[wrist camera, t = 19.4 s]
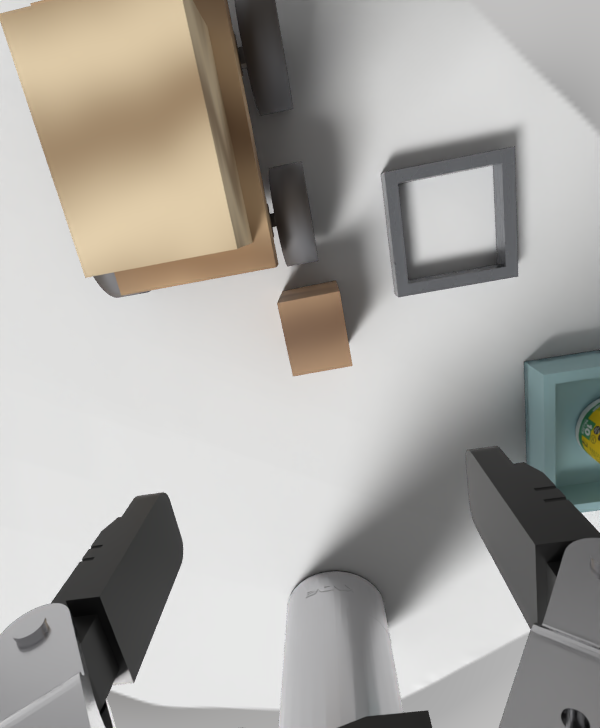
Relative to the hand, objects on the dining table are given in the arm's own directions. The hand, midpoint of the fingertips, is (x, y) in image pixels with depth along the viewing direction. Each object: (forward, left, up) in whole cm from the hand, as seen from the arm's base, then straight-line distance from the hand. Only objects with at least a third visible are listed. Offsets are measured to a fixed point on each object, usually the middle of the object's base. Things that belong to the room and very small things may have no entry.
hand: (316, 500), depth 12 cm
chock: (0, 0, -23) cm, 23 cm away
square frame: (+5, -10, -22) cm, 25 cm away
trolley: (+12, +6, -22) cm, 26 cm away
